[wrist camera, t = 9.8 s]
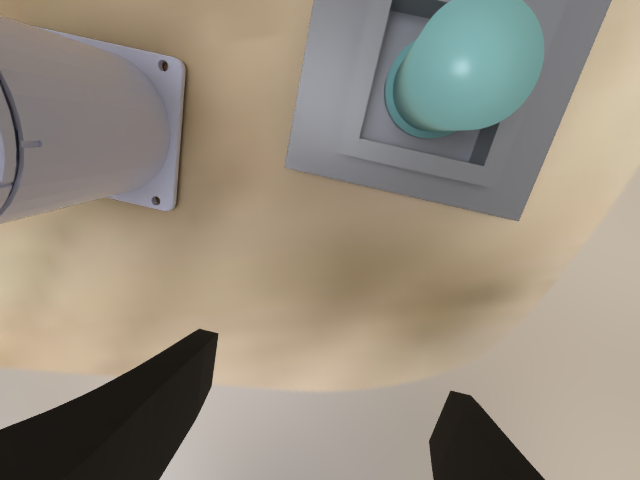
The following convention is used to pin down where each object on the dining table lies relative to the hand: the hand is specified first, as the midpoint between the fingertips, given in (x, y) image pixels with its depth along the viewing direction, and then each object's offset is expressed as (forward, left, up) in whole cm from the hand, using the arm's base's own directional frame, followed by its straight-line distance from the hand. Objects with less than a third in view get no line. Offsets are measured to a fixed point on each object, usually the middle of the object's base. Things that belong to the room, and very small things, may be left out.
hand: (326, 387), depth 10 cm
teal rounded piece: (+2, +10, -9) cm, 13 cm away
